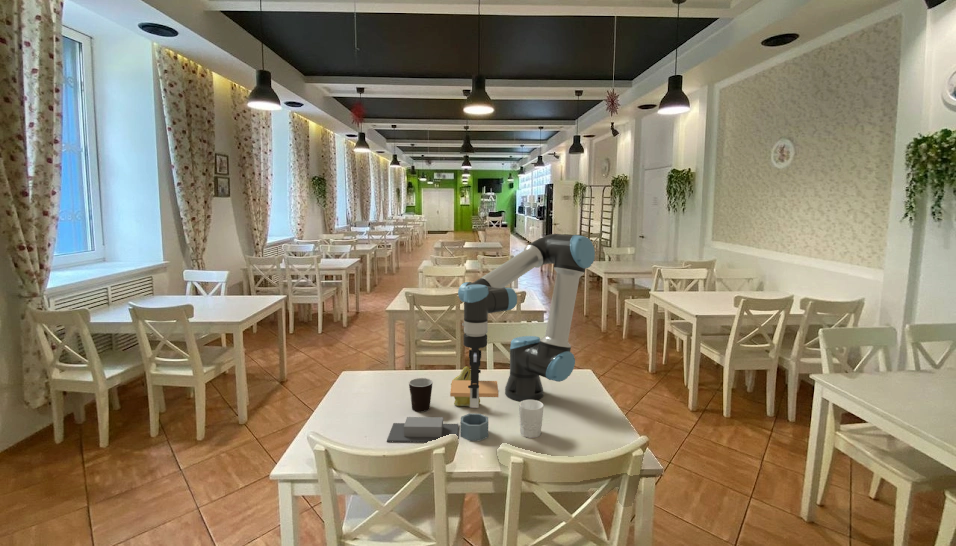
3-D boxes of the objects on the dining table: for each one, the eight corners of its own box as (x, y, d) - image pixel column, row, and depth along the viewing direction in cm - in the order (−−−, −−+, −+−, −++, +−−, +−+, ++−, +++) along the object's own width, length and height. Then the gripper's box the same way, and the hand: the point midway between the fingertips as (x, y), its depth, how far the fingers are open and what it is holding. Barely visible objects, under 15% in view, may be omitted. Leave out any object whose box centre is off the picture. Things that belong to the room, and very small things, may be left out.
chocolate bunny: (450, 402, 181) (451, 364, 179) (479, 402, 181) (480, 364, 179) (450, 409, 174) (450, 370, 172) (480, 409, 175) (480, 370, 172)
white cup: (516, 428, 161) (517, 399, 159) (539, 427, 161) (540, 399, 160) (520, 439, 153) (521, 409, 151) (545, 438, 153) (545, 409, 152)
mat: (458, 425, 162) (458, 414, 161) (456, 442, 150) (456, 430, 149) (393, 424, 162) (393, 413, 161) (386, 442, 150) (386, 430, 149)
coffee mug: (428, 414, 170) (428, 387, 169) (405, 412, 172) (405, 385, 171) (437, 401, 182) (437, 376, 180) (416, 399, 183) (416, 374, 182)
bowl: (487, 427, 160) (488, 413, 160) (488, 440, 152) (488, 425, 151) (461, 427, 160) (461, 413, 160) (460, 440, 152) (460, 425, 151)
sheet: (497, 384, 159) (497, 380, 159) (498, 397, 148) (498, 393, 148) (452, 383, 159) (452, 380, 159) (450, 396, 148) (450, 392, 148)
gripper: (464, 324, 163) (463, 386, 166) (462, 343, 140) (461, 415, 143) (486, 324, 163) (485, 386, 166) (488, 344, 140) (486, 415, 143)
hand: (474, 399), depth 154 cm, fingers closed on sheet, 11 cm apart
